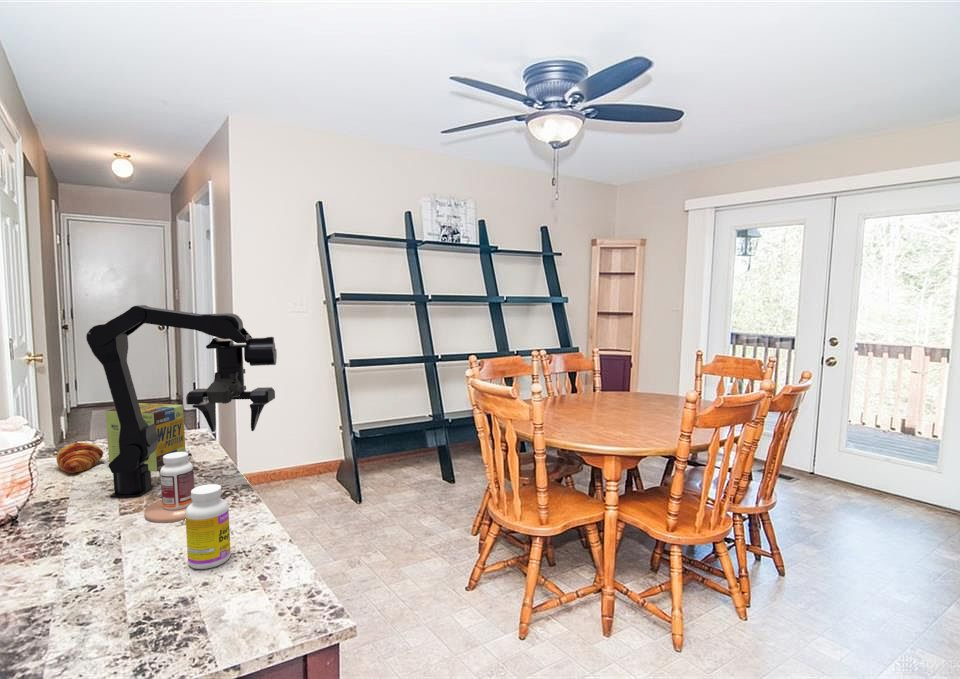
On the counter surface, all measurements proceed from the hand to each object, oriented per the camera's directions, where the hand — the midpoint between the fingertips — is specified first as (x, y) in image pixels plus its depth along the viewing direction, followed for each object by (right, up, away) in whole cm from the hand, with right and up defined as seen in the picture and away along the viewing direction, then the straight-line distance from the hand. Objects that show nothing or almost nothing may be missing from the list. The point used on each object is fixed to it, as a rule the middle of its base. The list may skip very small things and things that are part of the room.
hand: (233, 431), depth 130 cm
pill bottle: (-5, -14, -14) cm, 20 cm away
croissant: (-49, -12, +16) cm, 53 cm away
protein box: (-31, -12, +17) cm, 37 cm away
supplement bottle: (+12, -17, -36) cm, 41 cm away
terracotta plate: (-5, -14, -14) cm, 21 cm away
